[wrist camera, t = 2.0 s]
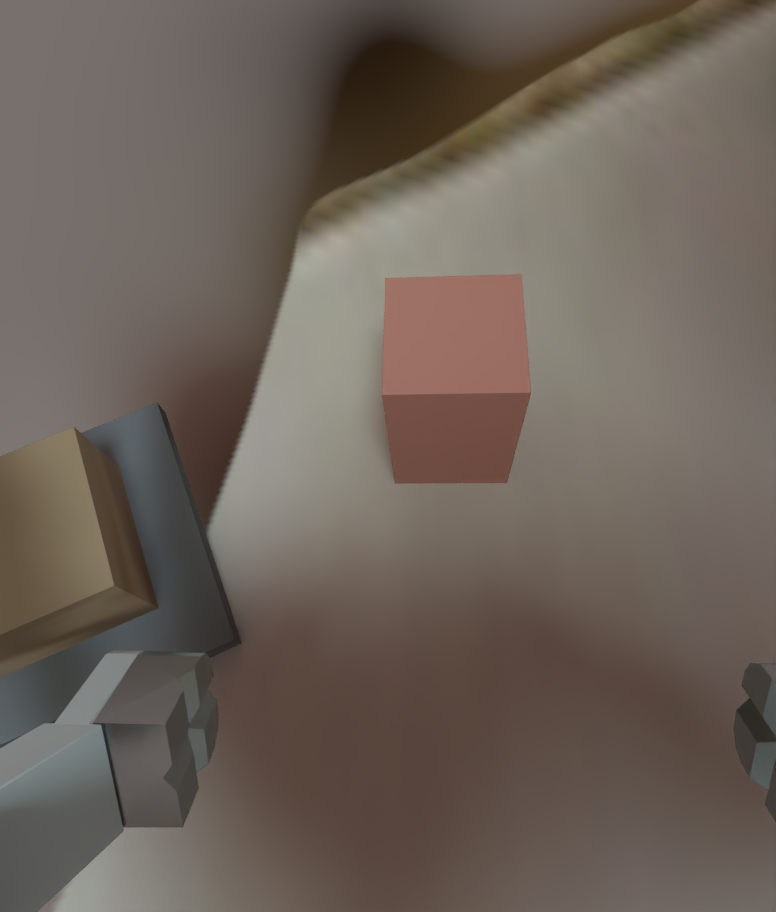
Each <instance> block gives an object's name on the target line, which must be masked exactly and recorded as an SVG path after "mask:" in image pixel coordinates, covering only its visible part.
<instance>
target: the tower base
mask: <svg viewBox="0 0 776 912" xmlns="http://www.w3.org/2000/svg"><path fill="white" fill-rule="evenodd" d="M240 643H241V641H240V638H239V635H238V632H237V629H236V626H235V623H234V620H233V617H232V614H231V611H230V608H229V605H228V602H227V599H226V596H225V592H224V589H223V586H222V583H221V580H220V577H219V574H218V571H217V568H216V565H215V562H214V559H213V556H212V553H211V550H210V547H209V544H208V541H207V538H206V535H205V532H204V529H203V526H202V523H201V520H200V517H199V514H198V511H197V508H196V505H195V502H194V498H193V495H192V492H191V489H190V486H189V484H188V480H187V477H186V474H185V471H184V468H183V465H182V462H181V459H180V456H179V453H178V450H177V447H176V444H175V441H174V438H173V435H172V432H171V429H170V426H169V423H168V419H167V417H166V413H165V412H164V410H163V409H162V408H161V407H160V405H159V404H158V403H155V404H152V405H150V406H148V407H145V408H143V409H140V410H138V411H135V412H133V413H130V414H128V415H125V416H123V417H120V418H118V419H115V420H113V421H110V422H108V423H105V424H103V425H100V426H98V427H95V428H93V429H90V430H88V431H86V432H83V433H80V432H79V431H78V430H77V429H76V428H75V427H72V428H70V429H67V430H65V431H62V432H60V433H57V434H55V435H52V436H50V437H47V438H45V439H42V440H40V441H37V442H35V443H32V444H30V445H27V446H25V447H22V448H20V449H17V450H15V451H13V452H10V453H7V454H5V455H2V456H0V748H2V747H4V746H5V745H7V744H9V743H11V742H12V741H14V740H16V739H18V738H19V737H21V736H23V735H25V734H26V733H28V732H30V731H32V730H33V729H35V728H37V727H39V726H40V725H42V724H44V723H55V722H56V720H57V719H58V717H59V716H60V715H61V713H62V712H63V711H64V709H65V708H66V707H67V705H68V704H69V703H70V701H71V700H72V699H73V697H74V696H75V695H76V693H77V692H78V691H79V689H80V688H81V687H82V685H83V684H84V683H85V681H86V680H87V679H88V677H89V676H90V674H91V673H92V672H93V670H94V669H95V668H96V666H97V665H98V664H99V662H100V661H101V660H102V658H103V657H104V656H105V655H106V654H107V653H109V652H111V651H113V650H129V651H143V652H144V651H164V652H189V653H206V654H207V655H208V656H209V657H212V656H214V655H216V654H218V653H220V652H223V651H225V650H227V649H229V648H231V647H234V646H236V645H238V644H240Z"/></svg>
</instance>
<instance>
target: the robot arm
mask: <svg viewBox="0 0 776 912" xmlns="http://www.w3.org/2000/svg"><path fill="white" fill-rule="evenodd" d="M213 676H214V675H213V670H212V664H211V658H210V657H209V656H208V655H207V654H206V653H189V652H164V651H144V652H143V651H129V650H113V651H111V652H109V653H107V654H106V655H105V656H104V657H103V658H102V660H101V661H100V662H99V664H98V665H97V666H96V668H95V669H94V670H93V672H92V673H91V674H90V676H89V677H88V679H87V680H86V681H85V683H84V684H83V685H82V687H81V688H80V689H79V691H78V692H77V693H76V695H75V696H74V697H73V699H72V700H71V701H70V703H69V704H68V705H67V707H66V708H65V709H64V711H63V712H62V713H61V715H60V716H59V717H58V719H57V720H56V722H55V723H44V724H42V725H40V726H39V727H37V728H35V729H33V730H32V731H30V732H28V733H26V734H25V735H23V736H21V737H19V738H18V739H16V740H14V741H12V742H11V743H9V744H7V745H5V746H4V747H2V748H0V912H38V911H39V910H40V909H41V908H42V907H43V906H44V905H45V904H46V903H47V902H48V901H50V900H51V899H52V898H53V897H54V896H55V895H56V894H57V893H58V892H59V891H60V890H61V889H62V888H63V887H64V886H66V885H67V884H68V883H69V882H70V881H71V880H72V879H73V878H74V877H75V876H76V875H77V874H78V873H79V872H80V871H81V870H83V869H84V868H85V867H86V866H87V865H88V864H89V863H90V862H91V861H92V860H93V859H94V858H95V857H96V856H97V855H98V854H100V853H101V852H102V851H103V850H104V849H105V848H106V847H107V846H108V845H109V844H110V843H111V842H112V841H113V840H114V839H116V838H117V837H118V836H119V835H120V834H121V833H122V832H123V831H124V829H123V827H183V826H184V823H185V821H186V818H187V816H188V813H189V811H190V808H191V806H192V803H193V801H194V799H195V796H196V794H197V791H198V789H199V786H198V780H197V772H198V771H199V770H201V769H202V768H203V767H205V766H206V765H207V764H208V763H209V761H210V758H211V755H212V753H213V750H214V747H215V742H216V737H217V731H218V705H217V699H216V698H215V697H214V696H213V695H212V694H211V692H210V691H209V690H208V687H209V684H210V682H211V680H212V678H213ZM742 687H743V688H744V690H745V691H746V693H747V694H748V696H749V697H750V698H749V699H748V700H747V701H746V702H745V703H743V704H742V705H741V706H740V707H739V708H738V709H737V710H736V716H735V722H734V737H735V745H736V750H737V753H738V755H739V758H740V761H741V764H742V765H743V767H744V769H745V771H746V772H747V774H748V776H749V778H751V779H752V780H753V781H755V782H756V783H758V784H759V785H760V786H762V787H763V788H765V789H766V790H768V794H767V798H766V803H765V805H766V807H767V808H768V810H769V812H770V813H771V815H772V817H773V818H774V820H775V822H776V663H750V664H749V666H748V667H747V669H746V670H745V672H744V677H743V681H742Z"/></svg>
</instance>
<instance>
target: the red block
mask: <svg viewBox="0 0 776 912" xmlns="http://www.w3.org/2000/svg"><path fill="white" fill-rule="evenodd" d="M530 394H531V387H530V374H529V362H528V350H527V338H526V325H525V313H524V301H523V288H522V276H521V274H515V275H479V276H443V277H406V278H385V312H384V346H383V380H382V398H383V404H384V411H385V418H386V424H387V431H388V438H389V444H390V451H391V458H392V464H393V471H394V478H395V483H507V481H508V477H509V473H510V469H511V466H512V462H513V458H514V454H515V451H516V447H517V443H518V439H519V436H520V432H521V428H522V424H523V421H524V417H525V413H526V409H527V406H528V402H529V398H530Z"/></svg>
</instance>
